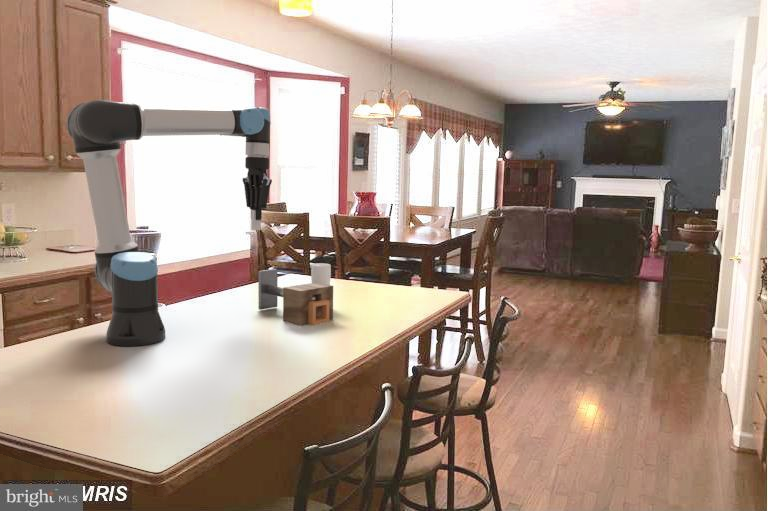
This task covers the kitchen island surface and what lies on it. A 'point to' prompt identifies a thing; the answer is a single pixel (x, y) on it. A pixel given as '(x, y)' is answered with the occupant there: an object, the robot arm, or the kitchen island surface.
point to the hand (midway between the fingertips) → (255, 229)
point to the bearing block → (305, 302)
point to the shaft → (270, 289)
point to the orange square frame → (312, 312)
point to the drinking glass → (321, 273)
